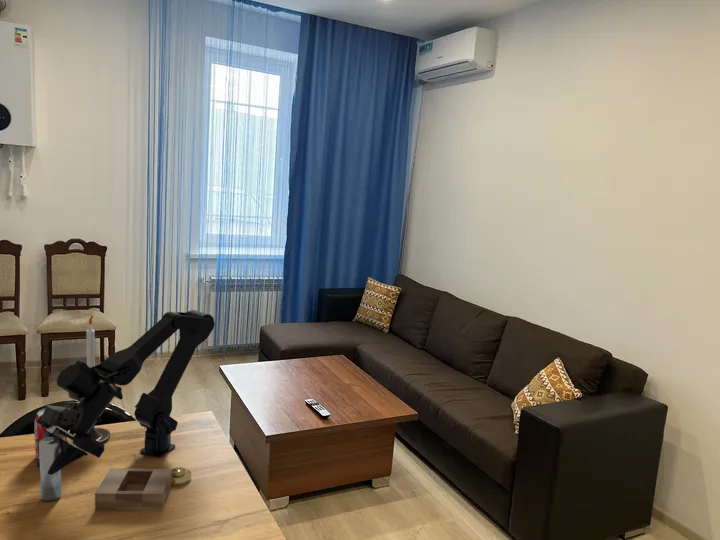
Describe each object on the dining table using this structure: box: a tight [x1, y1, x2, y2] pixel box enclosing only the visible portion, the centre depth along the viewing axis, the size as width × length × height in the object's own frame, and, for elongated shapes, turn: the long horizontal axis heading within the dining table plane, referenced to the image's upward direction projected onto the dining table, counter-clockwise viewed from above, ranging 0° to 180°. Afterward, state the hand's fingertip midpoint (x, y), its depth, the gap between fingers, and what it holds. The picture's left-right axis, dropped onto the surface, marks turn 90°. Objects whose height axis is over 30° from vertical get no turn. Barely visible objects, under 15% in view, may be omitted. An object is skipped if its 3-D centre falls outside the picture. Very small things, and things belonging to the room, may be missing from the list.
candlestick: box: [67, 313, 114, 445], centre depth 145 cm, size 11×11×35 cm
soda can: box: [33, 407, 68, 460], centre depth 137 cm, size 7×7×12 cm
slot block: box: [94, 468, 174, 511], centre depth 124 cm, size 10×14×4 cm
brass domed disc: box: [171, 466, 192, 487], centre depth 133 cm, size 6×6×2 cm
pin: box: [39, 437, 63, 502], centre depth 121 cm, size 4×4×13 cm
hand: (43, 470), depth 120 cm, fingers closed on pin, 4 cm apart
